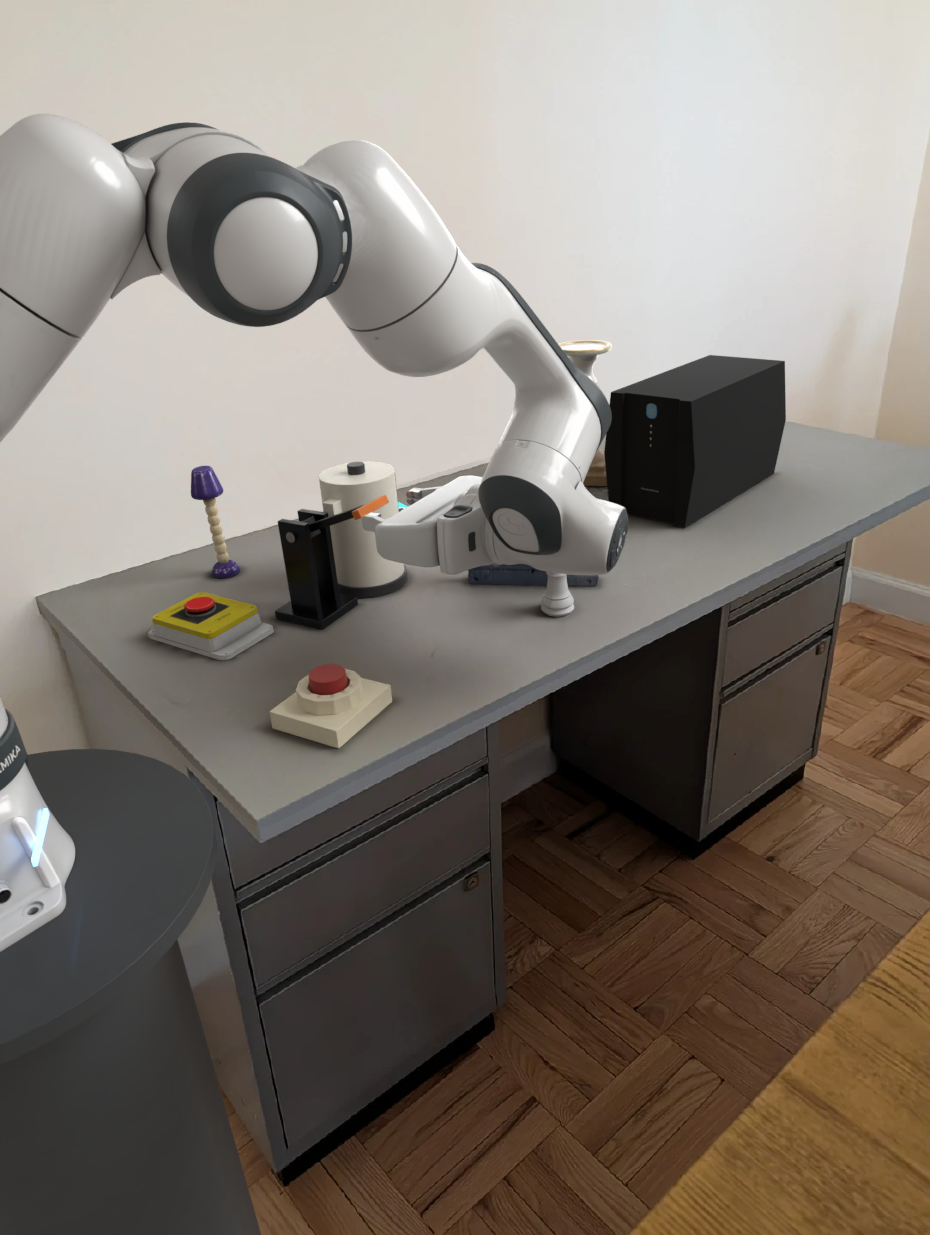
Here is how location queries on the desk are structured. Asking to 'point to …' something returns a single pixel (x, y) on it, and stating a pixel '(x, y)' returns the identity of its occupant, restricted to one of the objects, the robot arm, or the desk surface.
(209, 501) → the toy lamp
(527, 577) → the vhs cassette tape
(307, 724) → the button block
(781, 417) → the uninterruptible power supply
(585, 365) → the candle holder
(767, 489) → the desk surface
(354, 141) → the robot arm
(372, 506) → the power lever
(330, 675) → the button
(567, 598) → the rook chess piece
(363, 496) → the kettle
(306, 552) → the switch bracket
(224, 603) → the emergency button
